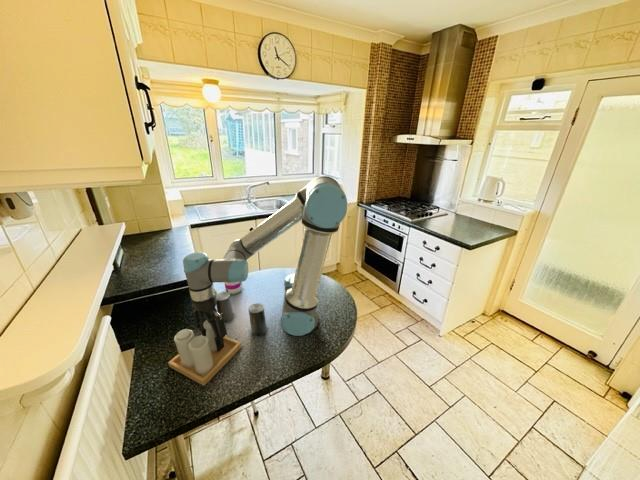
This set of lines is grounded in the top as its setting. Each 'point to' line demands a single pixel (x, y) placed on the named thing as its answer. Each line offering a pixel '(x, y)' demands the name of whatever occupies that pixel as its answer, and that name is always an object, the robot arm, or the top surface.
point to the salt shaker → (210, 336)
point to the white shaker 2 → (201, 355)
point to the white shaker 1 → (184, 347)
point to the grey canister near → (257, 319)
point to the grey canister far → (224, 306)
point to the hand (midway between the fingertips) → (214, 345)
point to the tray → (218, 359)
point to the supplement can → (233, 287)
